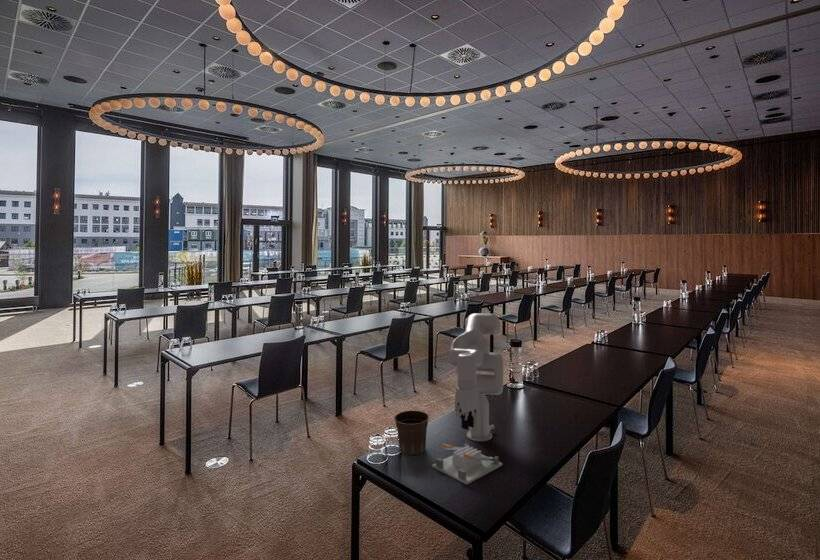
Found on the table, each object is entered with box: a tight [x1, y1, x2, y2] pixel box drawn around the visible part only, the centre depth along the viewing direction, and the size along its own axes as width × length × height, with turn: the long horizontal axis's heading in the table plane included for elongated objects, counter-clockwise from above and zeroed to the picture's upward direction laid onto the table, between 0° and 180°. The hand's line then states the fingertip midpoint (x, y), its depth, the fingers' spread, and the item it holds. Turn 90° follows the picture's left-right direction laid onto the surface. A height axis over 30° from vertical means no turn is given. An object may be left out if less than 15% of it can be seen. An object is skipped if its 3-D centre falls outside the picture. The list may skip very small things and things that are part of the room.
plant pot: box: [394, 410, 430, 456], centre depth 211 cm, size 16×16×16 cm
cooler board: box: [431, 443, 503, 485], centre depth 194 cm, size 23×20×6 cm
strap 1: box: [440, 443, 464, 451], centre depth 200 cm, size 19×3×2 cm, turn 132°
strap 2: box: [463, 454, 494, 461], centre depth 190 cm, size 19×3×2 cm, turn 132°
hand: (467, 427), depth 184 cm, fingers open, 2 cm apart
